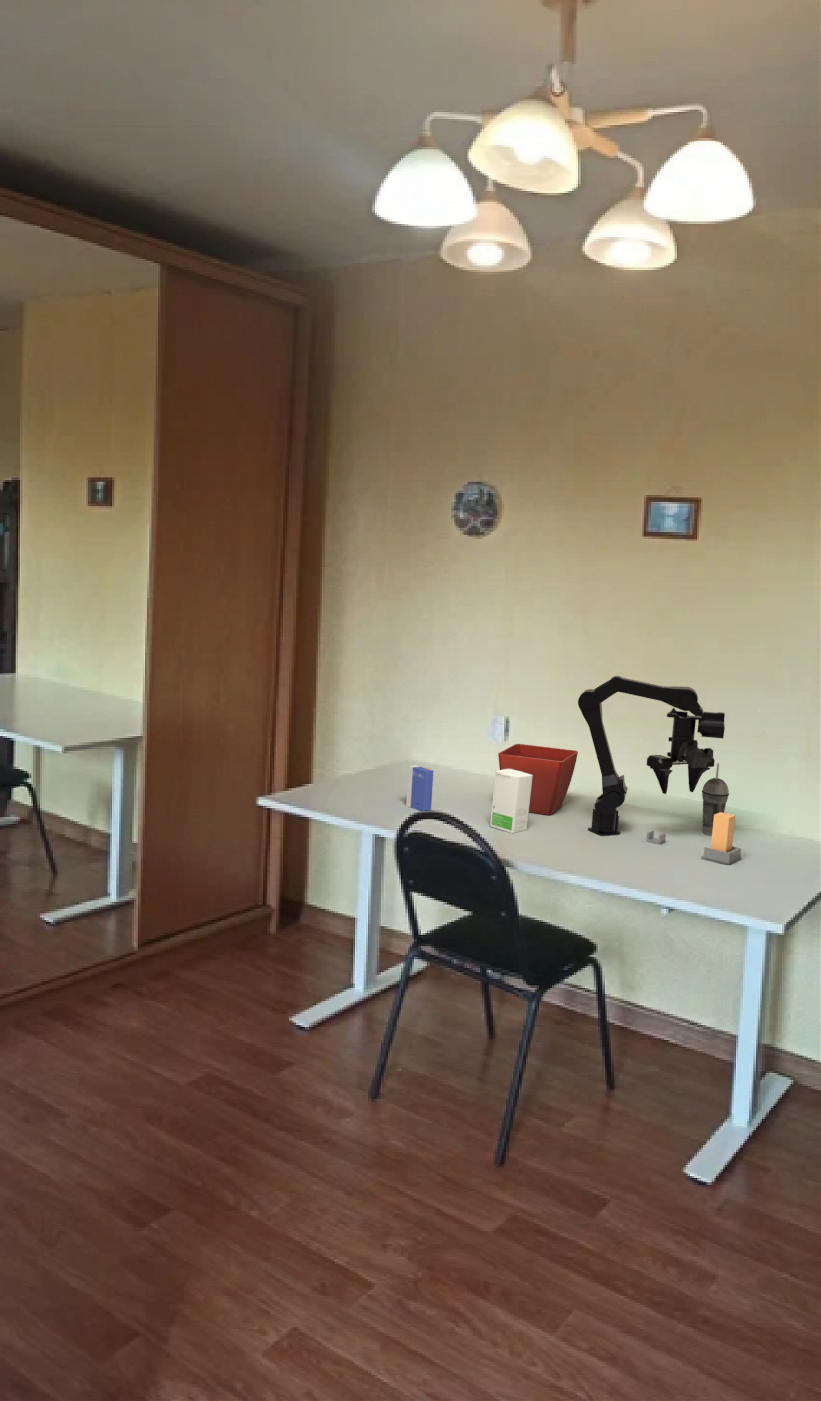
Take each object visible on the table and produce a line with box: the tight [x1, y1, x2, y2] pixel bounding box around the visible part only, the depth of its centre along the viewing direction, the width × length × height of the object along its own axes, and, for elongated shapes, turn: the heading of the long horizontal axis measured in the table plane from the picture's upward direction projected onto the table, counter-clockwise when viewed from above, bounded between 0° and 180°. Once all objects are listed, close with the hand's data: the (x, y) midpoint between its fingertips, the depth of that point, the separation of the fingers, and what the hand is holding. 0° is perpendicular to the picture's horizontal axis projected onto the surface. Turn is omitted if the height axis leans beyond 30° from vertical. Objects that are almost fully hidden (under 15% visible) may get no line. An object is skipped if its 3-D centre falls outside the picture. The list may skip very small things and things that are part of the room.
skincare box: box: [489, 769, 533, 834], centre depth 301 cm, size 8×7×16 cm
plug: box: [710, 812, 736, 852], centre depth 284 cm, size 4×4×11 cm
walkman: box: [405, 764, 434, 812], centre depth 318 cm, size 8×3×12 cm, turn 39°
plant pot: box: [497, 743, 579, 816], centre depth 326 cm, size 19×19×17 cm
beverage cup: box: [701, 763, 730, 836], centre depth 309 cm, size 7×7×20 cm
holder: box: [700, 845, 742, 866], centre depth 285 cm, size 7×7×3 cm
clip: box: [645, 830, 667, 845], centre depth 298 cm, size 3×4×2 cm
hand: (678, 792), depth 299 cm, fingers open, 9 cm apart
